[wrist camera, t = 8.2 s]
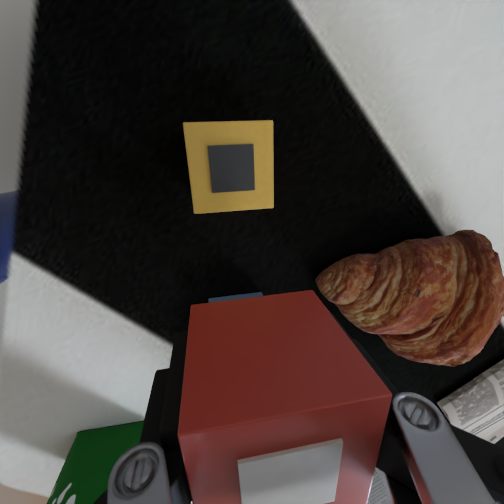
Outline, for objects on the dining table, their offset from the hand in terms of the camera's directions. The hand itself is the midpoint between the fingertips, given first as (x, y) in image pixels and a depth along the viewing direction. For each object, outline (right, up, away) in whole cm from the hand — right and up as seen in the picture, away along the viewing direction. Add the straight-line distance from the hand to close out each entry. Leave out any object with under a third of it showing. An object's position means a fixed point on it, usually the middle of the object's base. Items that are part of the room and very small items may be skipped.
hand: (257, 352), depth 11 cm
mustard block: (-2, +11, +9) cm, 14 cm away
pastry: (+16, +1, +16) cm, 23 cm away
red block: (0, 0, 0) cm, 0 cm away
